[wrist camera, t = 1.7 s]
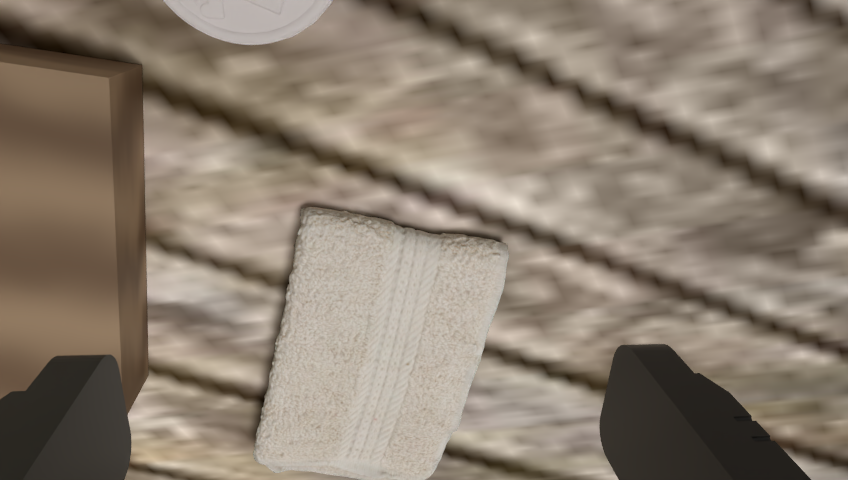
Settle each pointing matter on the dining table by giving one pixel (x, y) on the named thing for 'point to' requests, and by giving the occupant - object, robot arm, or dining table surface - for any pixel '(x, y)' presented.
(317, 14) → the smoothie
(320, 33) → the dining table surface
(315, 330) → the washcloth
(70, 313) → the walnut base
